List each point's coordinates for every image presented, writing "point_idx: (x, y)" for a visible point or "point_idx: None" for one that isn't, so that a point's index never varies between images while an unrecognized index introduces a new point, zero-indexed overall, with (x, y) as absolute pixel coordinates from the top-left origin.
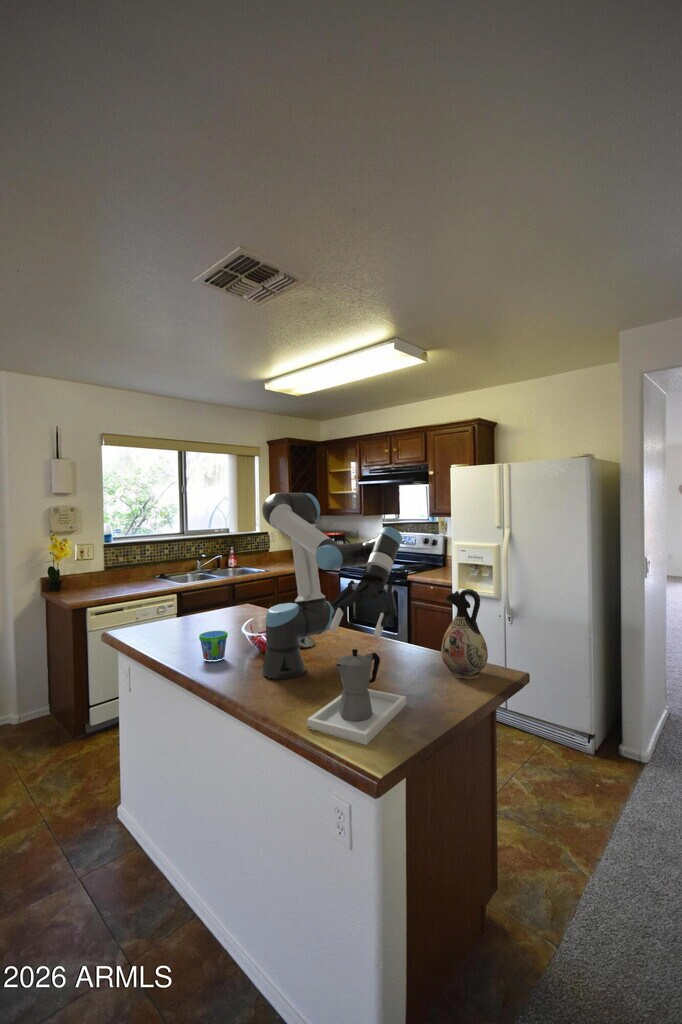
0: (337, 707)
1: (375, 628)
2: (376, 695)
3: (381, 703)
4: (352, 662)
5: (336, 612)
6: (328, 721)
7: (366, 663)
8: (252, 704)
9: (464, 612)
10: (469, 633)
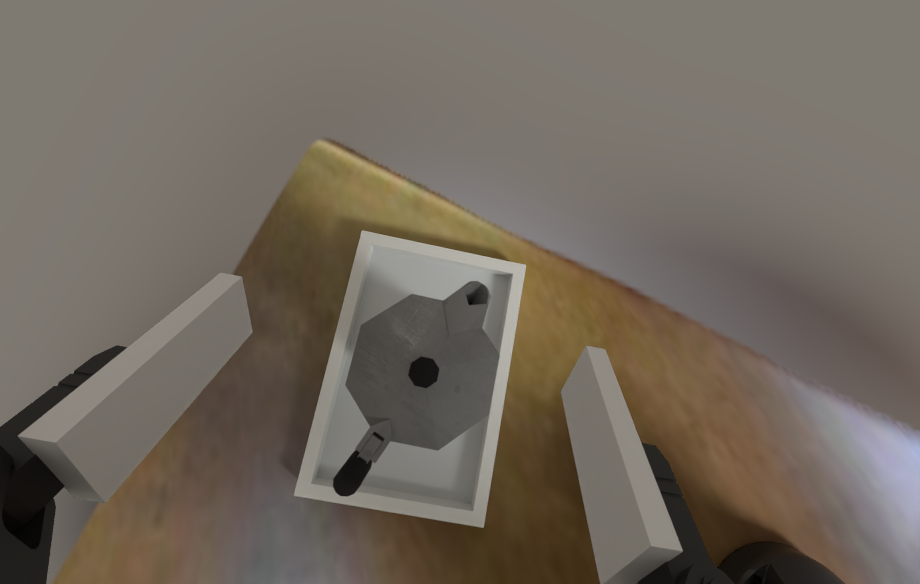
0: None
1: (212, 301)
2: (396, 494)
3: None
4: (420, 316)
5: (648, 478)
6: None
7: (360, 336)
8: (709, 352)
9: None
10: None
